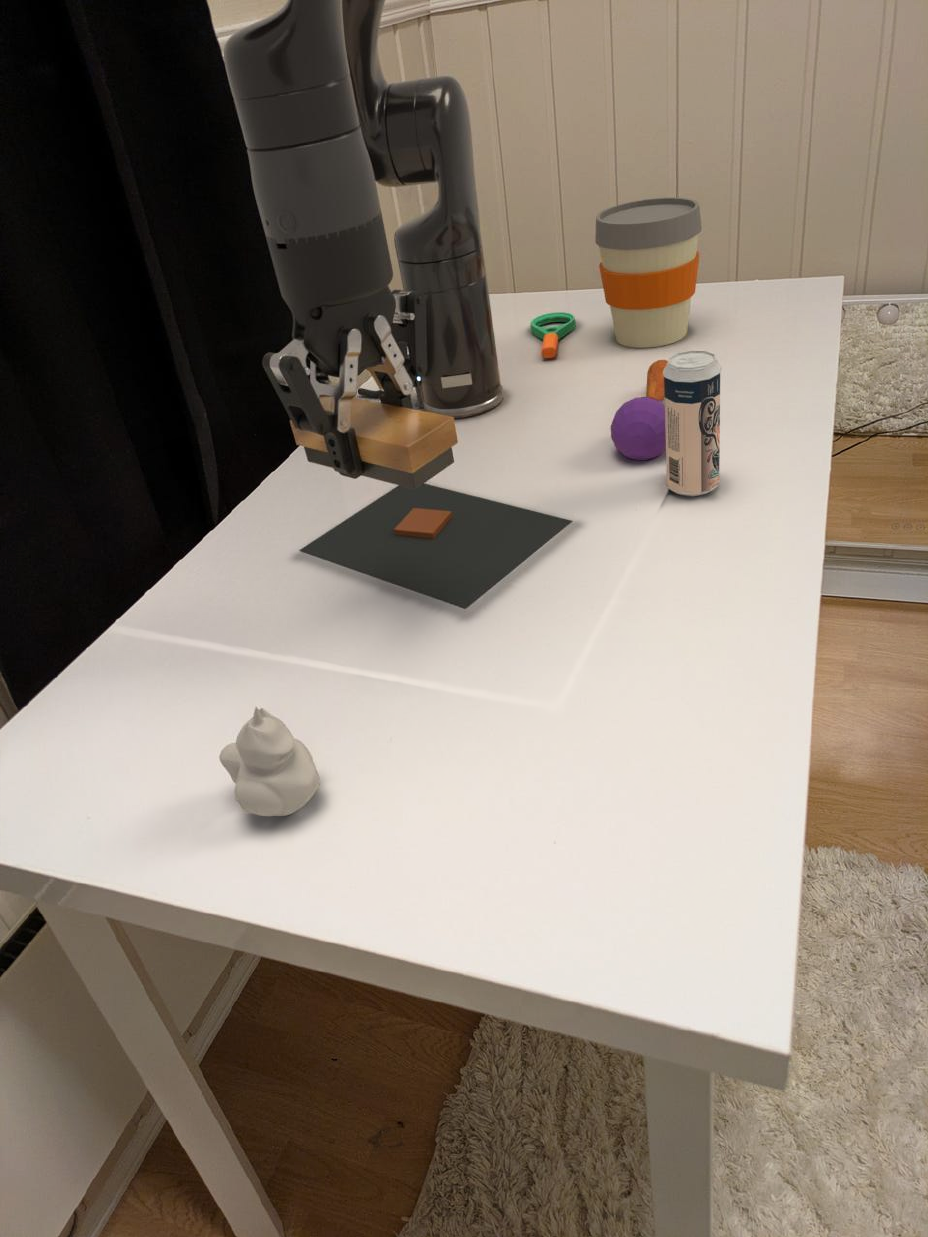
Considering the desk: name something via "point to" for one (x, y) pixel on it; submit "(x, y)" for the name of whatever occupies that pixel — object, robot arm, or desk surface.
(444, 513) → the brown square tile
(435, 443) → the brush
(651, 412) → the maraca
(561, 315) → the toy tennis racket
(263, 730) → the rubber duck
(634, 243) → the reusable coffee cup
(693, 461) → the beer can
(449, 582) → the mat
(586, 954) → the desk surface
